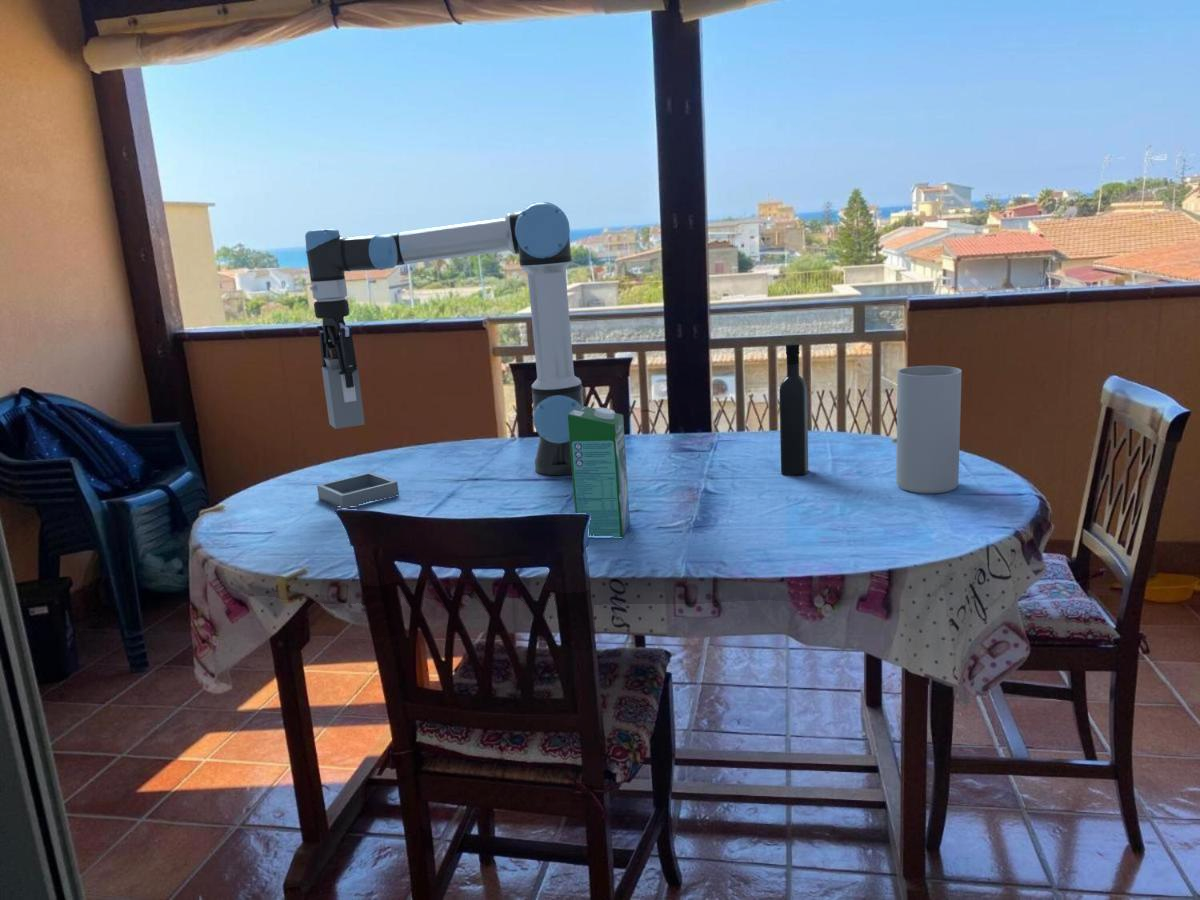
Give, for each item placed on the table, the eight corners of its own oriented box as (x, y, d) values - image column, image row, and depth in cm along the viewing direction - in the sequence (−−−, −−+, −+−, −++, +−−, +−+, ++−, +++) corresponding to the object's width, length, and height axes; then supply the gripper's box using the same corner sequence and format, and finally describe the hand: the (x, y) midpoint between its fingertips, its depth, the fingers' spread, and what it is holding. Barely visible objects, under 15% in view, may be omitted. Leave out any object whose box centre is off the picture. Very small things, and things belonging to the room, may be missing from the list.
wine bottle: (780, 475, 209) (777, 346, 202) (784, 468, 214) (782, 342, 207) (805, 476, 207) (803, 346, 199) (809, 469, 212) (807, 342, 205)
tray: (399, 495, 214) (397, 481, 214) (343, 510, 206) (341, 495, 205) (372, 485, 225) (370, 472, 224) (319, 499, 216) (316, 485, 216)
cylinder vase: (967, 482, 194) (971, 367, 187) (943, 498, 185) (946, 377, 179) (911, 475, 202) (913, 364, 196) (886, 489, 193) (887, 374, 187)
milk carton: (622, 538, 175) (613, 412, 169) (577, 538, 176) (567, 413, 170) (630, 523, 183) (622, 402, 177) (586, 523, 185) (577, 404, 179)
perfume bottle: (335, 428, 207) (324, 350, 202) (329, 424, 212) (318, 348, 208) (365, 424, 210) (355, 347, 205) (358, 419, 215) (348, 344, 211)
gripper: (298, 300, 209) (312, 398, 215) (332, 302, 195) (346, 407, 200) (328, 297, 214) (341, 393, 219) (364, 298, 199) (377, 401, 205)
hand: (343, 399), depth 210 cm, fingers closed on perfume bottle, 6 cm apart
